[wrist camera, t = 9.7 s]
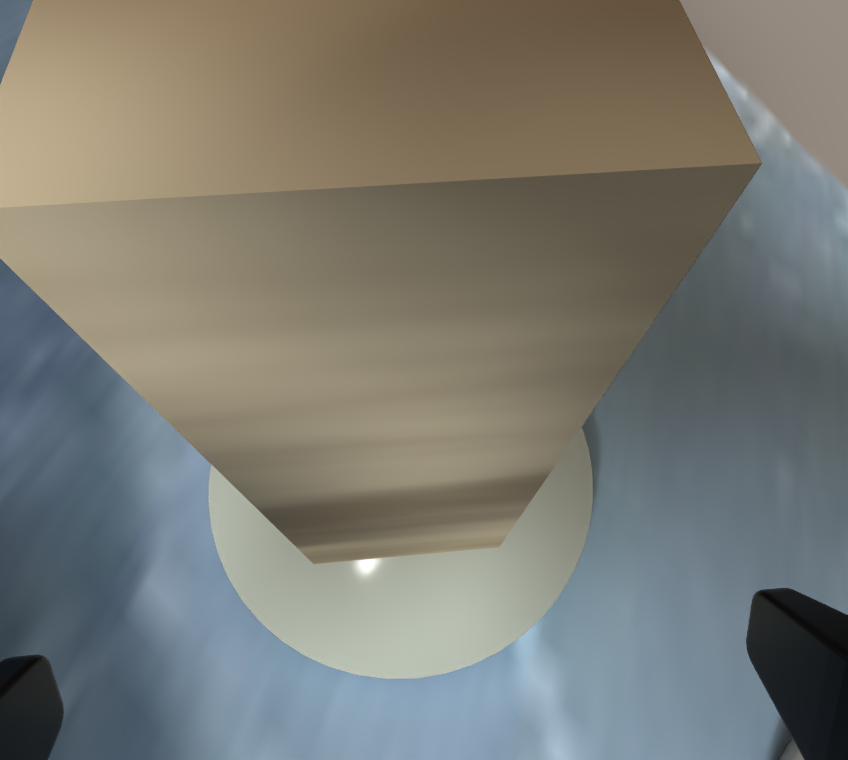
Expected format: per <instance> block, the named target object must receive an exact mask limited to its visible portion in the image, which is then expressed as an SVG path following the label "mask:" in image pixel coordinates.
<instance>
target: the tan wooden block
mask: <svg viewBox="0 0 848 760" xmlns="http://www.w3.org/2000/svg"><path fill="white" fill-rule="evenodd" d="M761 164H762V162H761V160H760V158H759V156H758V154H757V152H756V150H755V148H754V146H753V144H752V142H751V140H750V138H749V136H748V134H747V132H746V130H745V128H744V126H743V124H742V122H741V120H740V119H739V117H738V115H737V113H736V111H735V109H734V107H733V105H732V103H731V101H730V99H729V97H728V95H727V93H726V91H725V89H724V87H723V85H722V83H721V81H720V79H719V77H718V75H717V73H716V71H715V69H714V68H713V66H712V64H711V62H710V60H709V58H708V56H707V54H706V52H705V50H704V48H703V46H702V44H701V42H700V40H699V38H698V36H697V34H696V32H695V30H694V28H693V26H692V24H691V22H690V21H689V18H688V17H687V15H686V13H685V11H684V9H683V7H682V5H681V3H680V1H679V0H33V2H32V5H31V8H30V10H29V13H28V15H27V18H26V20H25V23H24V26H23V28H22V31H21V33H20V36H19V38H18V41H17V44H16V46H15V49H14V51H13V54H12V56H11V59H10V62H9V64H8V67H7V69H6V72H5V74H4V77H3V80H2V82H1V85H0V258H1V259H2V260H3V261H4V262H5V263H6V264H7V265H8V266H9V267H10V268H11V269H12V270H13V271H14V272H15V273H16V274H17V275H18V276H19V277H20V278H21V279H22V280H23V281H24V282H25V283H26V284H27V285H28V286H29V287H30V288H31V289H32V290H33V291H34V292H35V293H36V294H37V295H38V296H39V297H41V298H42V299H43V300H44V301H45V302H46V303H47V304H48V305H49V306H50V307H51V308H52V309H53V310H54V311H55V312H56V313H57V314H58V315H59V316H60V317H61V318H62V319H63V320H64V321H65V322H66V323H67V324H68V325H69V326H70V327H71V328H72V329H73V330H74V331H75V332H76V333H77V334H78V335H79V336H80V337H81V338H82V339H84V340H85V341H86V342H87V343H88V344H89V345H90V346H91V347H92V348H93V349H94V350H95V351H96V352H97V353H98V354H99V355H100V356H101V357H102V358H103V359H104V360H105V361H106V362H107V363H108V364H109V365H110V366H111V367H112V368H113V369H114V370H115V371H116V372H117V373H118V374H119V375H120V376H121V377H122V378H123V379H124V380H126V381H127V382H128V383H129V384H130V385H131V386H132V387H133V388H134V389H135V390H136V391H137V392H138V393H139V394H140V395H141V396H142V397H143V398H144V399H145V400H146V401H147V402H148V403H149V404H150V405H151V406H152V407H153V408H154V409H155V410H156V411H157V412H158V413H159V414H160V415H161V416H162V417H163V418H164V419H165V420H166V421H168V422H169V423H170V424H171V425H172V426H173V427H174V428H175V429H176V430H177V431H178V432H179V433H180V434H181V435H182V436H183V437H184V438H185V439H186V440H187V441H188V442H189V443H190V444H191V445H192V446H193V447H194V448H195V449H196V450H197V451H198V452H199V453H200V454H201V455H202V456H203V457H204V458H205V459H206V460H207V461H208V462H210V463H211V464H212V465H213V466H214V467H215V468H216V469H217V470H218V471H219V472H220V473H221V474H222V475H223V476H224V477H225V478H226V479H227V480H228V481H229V482H230V483H231V484H232V485H233V486H234V487H235V488H236V489H237V490H238V491H239V492H240V493H241V494H242V495H243V496H244V497H245V498H246V499H247V500H248V501H249V502H250V503H251V504H253V505H254V506H255V507H256V508H257V509H258V510H259V511H260V512H261V513H262V514H263V515H264V516H265V517H266V518H267V519H268V520H269V521H270V522H271V523H272V524H273V525H274V526H275V527H276V528H277V529H278V530H279V531H280V532H281V533H282V534H283V535H284V536H285V537H286V538H287V539H288V540H289V541H290V542H291V543H292V544H293V545H295V546H296V547H297V548H298V549H299V550H300V551H301V552H302V553H303V554H304V555H305V556H306V557H307V558H308V559H309V560H310V561H311V562H312V563H313V564H321V563H332V562H343V561H354V560H365V559H376V558H387V557H398V556H409V555H420V554H431V553H441V552H452V551H463V550H474V549H485V548H496V547H500V546H501V544H502V543H503V541H504V540H505V538H506V537H507V535H508V534H509V532H510V531H511V530H512V528H513V527H514V525H515V524H516V522H517V521H518V519H519V518H520V516H521V515H522V513H523V512H524V511H525V509H526V508H527V506H528V505H529V503H530V502H531V500H532V499H533V497H534V496H535V494H536V493H537V492H538V490H539V489H540V487H541V486H542V484H543V483H544V481H545V480H546V478H547V477H548V475H549V474H550V473H551V471H552V470H553V468H554V467H555V465H556V464H557V462H558V461H559V459H560V458H561V456H562V455H563V454H564V452H565V451H566V449H567V448H568V446H569V445H570V443H571V442H572V440H573V439H574V437H575V436H576V435H577V433H578V432H579V430H580V429H581V427H582V426H583V424H584V423H585V421H586V420H587V418H588V417H589V416H590V414H591V413H592V411H593V410H594V408H595V407H596V405H597V404H598V402H599V401H600V399H601V398H602V397H603V395H604V394H605V392H606V391H607V389H608V388H609V386H610V385H611V383H612V382H613V380H614V379H615V378H616V376H617V375H618V373H619V372H620V370H621V369H622V367H623V366H624V364H625V363H626V361H627V360H628V359H629V357H630V356H631V354H632V353H633V351H634V350H635V348H636V347H637V345H638V344H639V342H640V341H641V340H642V338H643V337H644V335H645V334H646V332H647V331H648V329H649V328H650V326H651V325H652V323H653V322H654V321H655V319H656V318H657V316H658V315H659V313H660V312H661V310H662V309H663V307H664V306H665V304H666V303H667V302H668V300H669V299H670V297H671V296H672V294H673V293H674V291H675V290H676V288H677V287H678V285H679V284H680V283H681V281H682V280H683V278H684V277H685V275H686V274H687V272H688V271H689V269H690V268H691V267H692V265H693V264H694V262H695V261H696V259H697V258H698V256H699V255H700V253H701V252H702V250H703V249H704V248H705V246H706V245H707V243H708V242H709V240H710V239H711V237H712V236H713V234H714V233H715V231H716V230H717V229H718V227H719V226H720V224H721V223H722V221H723V220H724V218H725V217H726V215H727V214H728V212H729V211H730V210H731V208H732V207H733V205H734V204H735V202H736V201H737V199H738V198H739V196H740V195H741V193H742V192H743V191H744V189H745V188H746V186H747V185H748V183H749V182H750V180H751V179H752V177H753V176H754V174H755V173H756V172H757V170H758V169H759V167H760V166H761Z"/></svg>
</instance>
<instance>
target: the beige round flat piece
mask: <svg viewBox="0 0 848 760" xmlns="http://www.w3.org/2000/svg"><path fill="white" fill-rule="evenodd" d="M592 504H593V472H592V466H591V460H590V454H589V448H588V445H587V442H586V438H585V435H584V432H583V428H582V427H581V429H580V430H579V432H578V433H577V435H576V436H575V437H574V439H573V440H572V442H571V443H570V445H569V446H568V448H567V449H566V451H565V452H564V454H563V455H562V456H561V458H560V459H559V461H558V462H557V464H556V465H555V467H554V468H553V470H552V471H551V473H550V474H549V475H548V477H547V478H546V480H545V481H544V483H543V484H542V486H541V487H540V489H539V490H538V492H537V493H536V494H535V496H534V497H533V499H532V500H531V502H530V503H529V505H528V506H527V508H526V509H525V511H524V512H523V513H522V515H521V516H520V518H519V519H518V521H517V522H516V524H515V525H514V527H513V528H512V530H511V531H510V532H509V534H508V535H507V537H506V538H505V540H504V541H503V543H502V544H501V546H500V547H496V548H485V549H474V550H463V551H452V552H441V553H431V554H420V555H409V556H398V557H387V558H376V559H365V560H354V561H343V562H332V563H321V564H313V563H312V562H311V561H310V560H309V559H308V558H307V557H306V556H305V555H304V554H303V553H302V552H301V551H300V550H299V549H298V548H297V547H296V546H295V545H293V544H292V543H291V542H290V541H289V540H288V539H287V538H286V537H285V536H284V535H283V534H282V533H281V532H280V531H279V530H278V529H277V528H276V527H275V526H274V525H273V524H272V523H271V522H270V521H269V520H268V519H267V518H266V517H265V516H264V515H263V514H262V513H261V512H260V511H259V510H258V509H257V508H256V507H255V506H254V505H253V504H251V503H250V502H249V501H248V500H247V499H246V498H245V497H244V496H243V495H242V494H241V493H240V492H239V491H238V490H237V489H236V488H235V487H234V486H233V485H232V484H231V483H230V482H229V481H228V480H227V479H226V478H225V477H224V476H223V475H222V474H221V473H220V472H219V471H218V470H217V469H216V468H215V467H214V466H213V465H212V464H211V470H210V477H209V511H210V520H211V529H212V532H213V536H214V540H215V544H216V548H217V552H218V555H219V557H220V559H221V562H222V564H223V566H224V569H225V571H226V574H227V576H228V578H229V580H230V581H231V583H232V585H233V586H234V588H235V590H236V591H237V593H238V595H239V596H240V598H241V599H242V601H243V602H244V603H245V605H246V606H247V607H248V608H249V609H250V611H251V612H252V613H253V614H254V615H255V617H256V618H257V619H258V620H259V621H260V622H261V623H262V624H263V625H264V626H265V627H266V628H268V629H269V630H270V631H271V632H272V633H273V634H274V635H275V636H277V637H278V638H279V639H280V640H281V641H283V642H284V643H286V644H287V645H289V646H291V647H292V648H294V649H295V650H297V651H298V652H300V653H301V654H303V655H304V656H307V657H309V658H311V659H313V660H315V661H318V662H320V663H322V664H324V665H326V666H329V667H331V668H335V669H338V670H342V671H345V672H349V673H352V674H356V675H361V676H368V677H376V678H384V679H409V678H422V677H428V676H433V675H439V674H445V673H448V672H452V671H455V670H458V669H461V668H464V667H467V666H470V665H473V664H475V663H477V662H479V661H481V660H483V659H485V658H487V657H489V656H491V655H493V654H495V653H497V652H499V651H501V650H502V649H504V648H505V647H506V646H508V645H509V644H511V643H512V642H514V641H515V640H517V639H518V638H519V637H521V636H522V635H524V634H525V633H526V632H527V631H528V630H529V629H530V628H531V627H532V626H533V625H534V624H535V623H536V622H537V621H538V620H540V619H541V618H542V617H543V616H544V614H545V613H546V612H547V611H548V609H549V608H550V607H551V606H552V604H553V603H554V602H555V601H556V600H557V598H558V597H559V596H560V594H561V593H562V591H563V589H564V588H565V586H566V584H567V583H568V581H569V579H570V577H571V576H572V574H573V572H574V570H575V568H576V566H577V563H578V561H579V558H580V556H581V553H582V551H583V549H584V545H585V541H586V538H587V534H588V530H589V526H590V521H591V513H592Z"/></svg>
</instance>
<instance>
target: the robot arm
mask: <svg viewBox="0 0 848 760" xmlns="http://www.w3.org/2000/svg"><path fill="white" fill-rule="evenodd" d="M746 645H747V651H748V655H749V658H750V660H751V662H752V664H753V666H754V668H755V670H756V672H757V674H758V675H759V677H760V679H761V681H762V683H763V685H764V687H765V688H766V690H767V692H768V694H769V696H770V698H771V700H772V701H773V703H774V705H775V707H776V709H777V711H778V712H779V714H780V716H781V718H782V720H783V722H784V724H785V725H786V727H787V729H788V731H789V733H790V735H791V737H792V738H793V740H794V742H795V744H796V746H797V748H798V749H799V751H800V753H801V755H802V757H803V759H804V760H848V615H846V614H844V613H842V612H840V611H838V610H836V609H833V608H831V607H829V606H827V605H825V604H823V603H821V602H818V601H816V600H814V599H812V598H810V597H808V596H806V595H804V594H801V593H799V592H797V591H795V590H793V589H789V588H777V589H766V590H760V591H758V592H756V593H755V595H754V596H753V599H752V604H751V611H750V618H749V625H748V631H747V638H746ZM63 714H64V710H63V702H62V699H61V696H60V693H59V690H58V686H57V683H56V680H55V677H54V674H53V671H52V667H51V664H50V662H49V660H48V659H47V658H46V657H45V656H42V655H28V656H17V657H11V658H7V659H5V660H3V661H1V662H0V760H48V759H49V756H50V754H51V751H52V749H53V746H54V744H55V741H56V739H57V736H58V734H59V731H60V728H61V725H62V721H63Z"/></svg>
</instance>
